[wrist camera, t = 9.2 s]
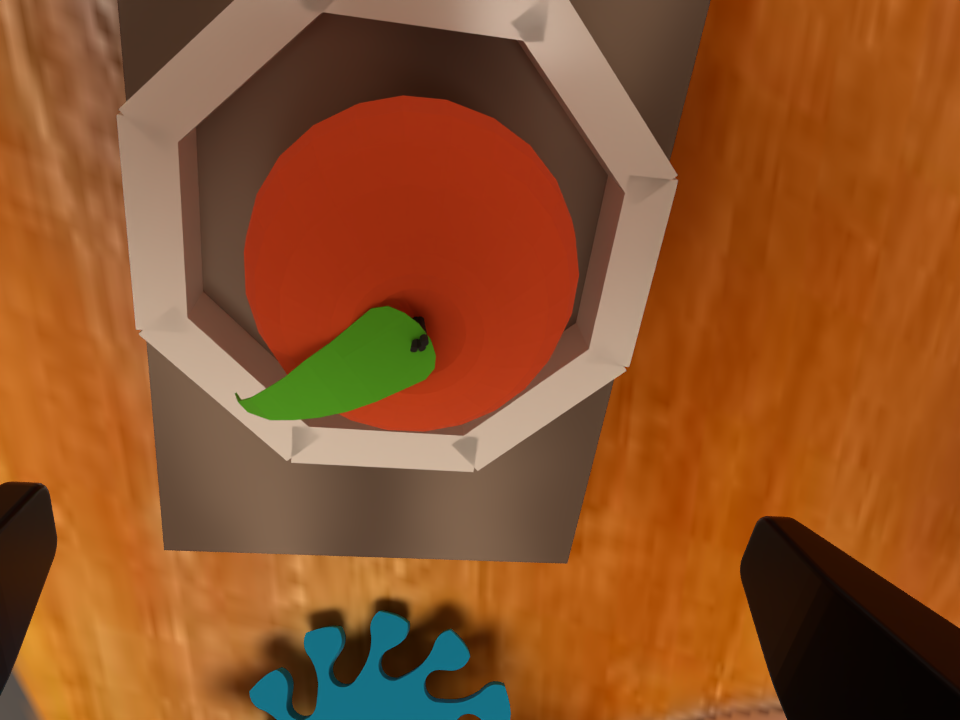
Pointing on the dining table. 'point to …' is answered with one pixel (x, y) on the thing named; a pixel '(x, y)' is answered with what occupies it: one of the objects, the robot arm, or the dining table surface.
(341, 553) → the board
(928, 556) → the dining table surface
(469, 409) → the clementine
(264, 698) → the blue knobbed toy
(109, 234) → the dining table surface
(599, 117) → the seat ring
